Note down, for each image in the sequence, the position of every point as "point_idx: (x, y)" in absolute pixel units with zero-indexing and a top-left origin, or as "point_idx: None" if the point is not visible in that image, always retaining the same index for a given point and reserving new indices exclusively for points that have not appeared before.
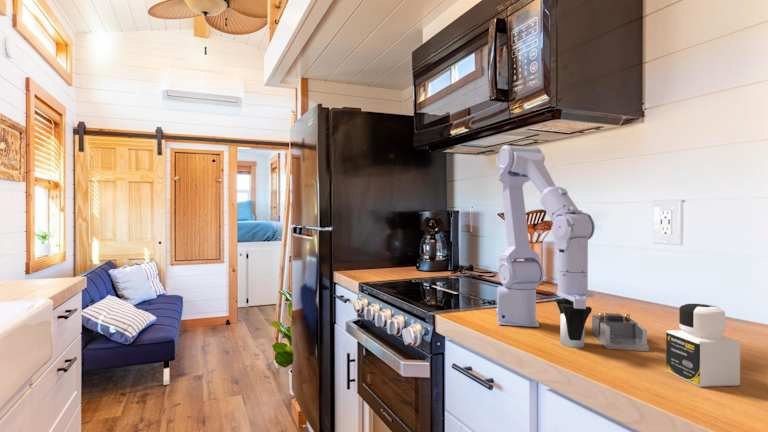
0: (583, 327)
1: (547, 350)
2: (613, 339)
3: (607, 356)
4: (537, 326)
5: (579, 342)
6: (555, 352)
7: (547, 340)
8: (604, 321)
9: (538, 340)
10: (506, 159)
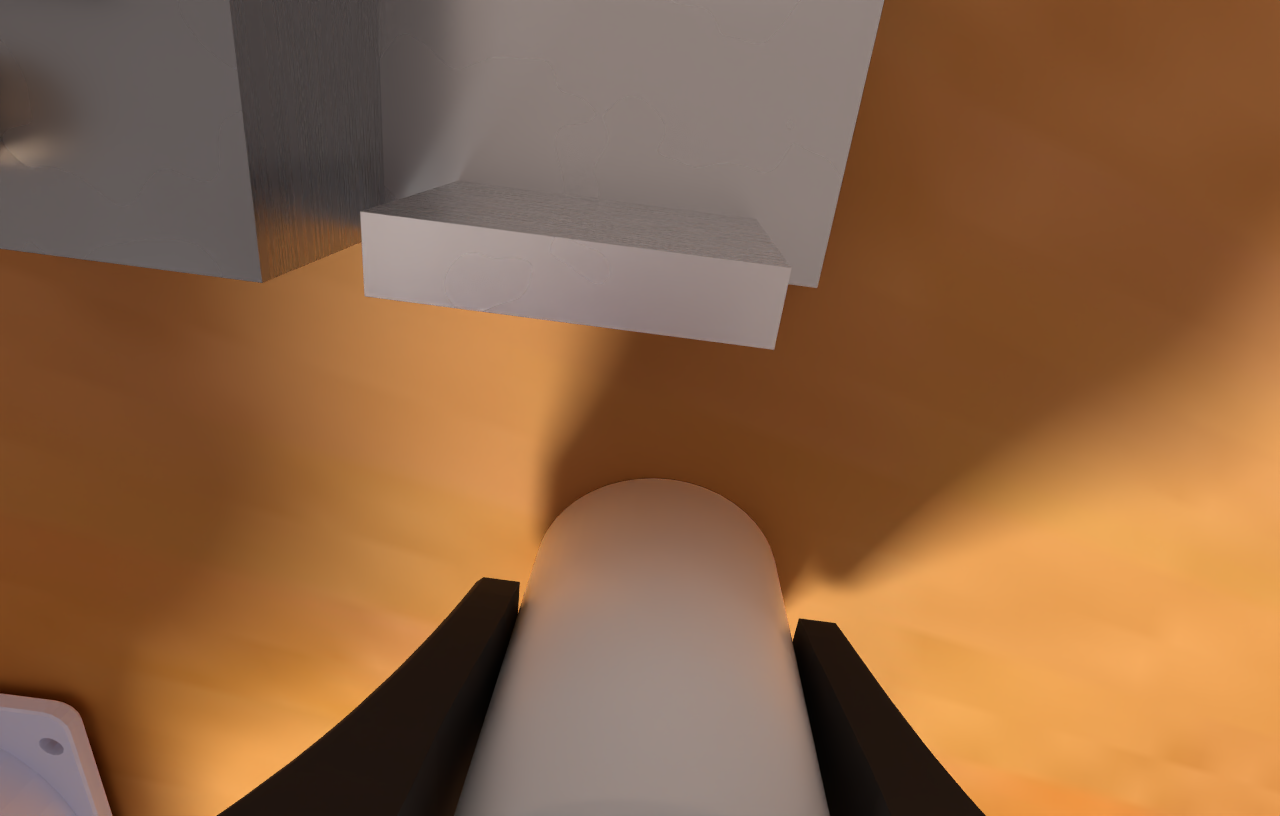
0: (937, 763)
1: None
2: (585, 84)
3: (1106, 387)
4: (77, 719)
5: (780, 592)
6: None
7: None
8: (218, 154)
9: None
10: None
